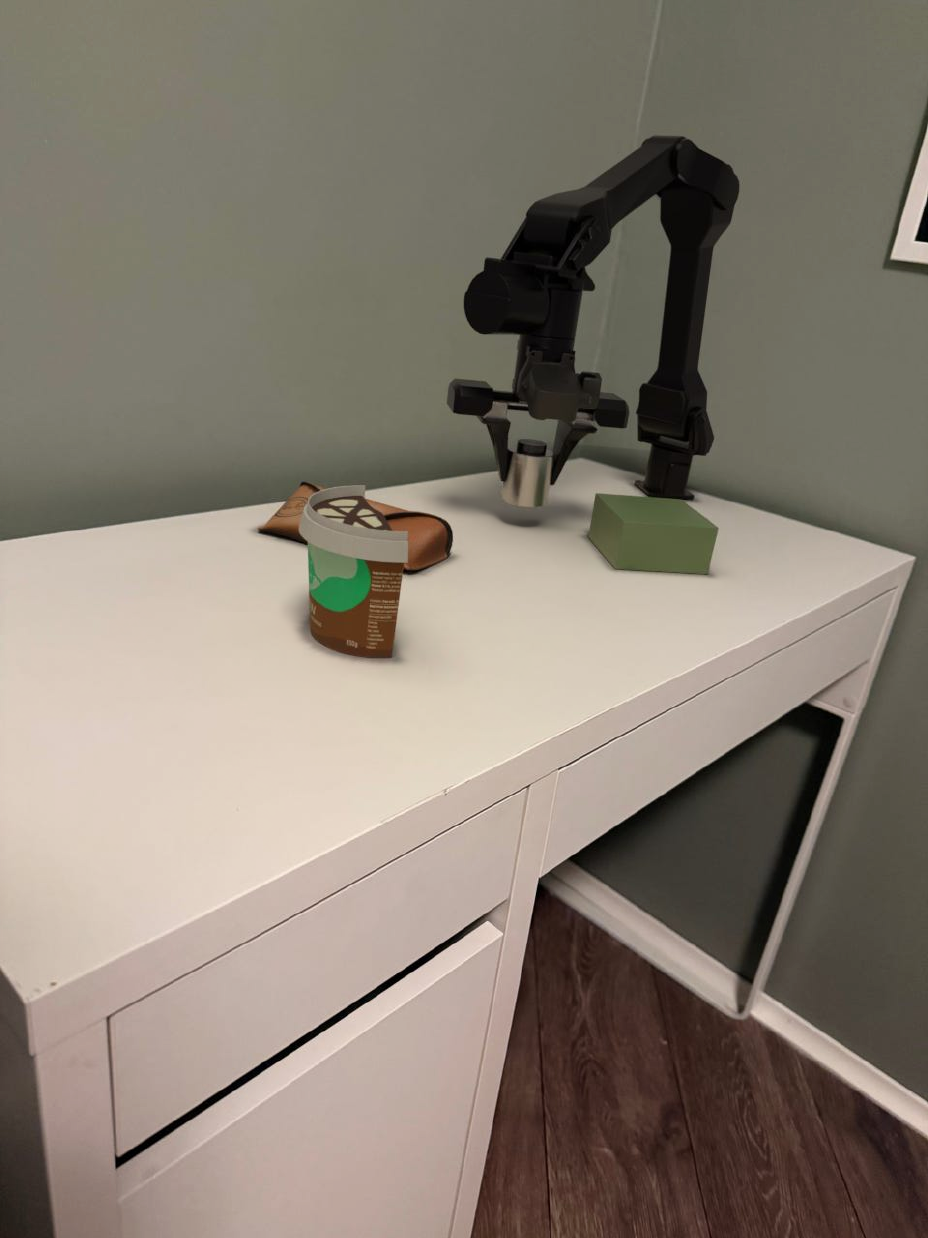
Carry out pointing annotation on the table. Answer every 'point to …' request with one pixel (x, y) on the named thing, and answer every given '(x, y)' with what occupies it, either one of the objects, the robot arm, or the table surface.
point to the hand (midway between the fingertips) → (526, 482)
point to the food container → (352, 572)
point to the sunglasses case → (424, 530)
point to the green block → (652, 534)
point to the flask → (528, 474)
